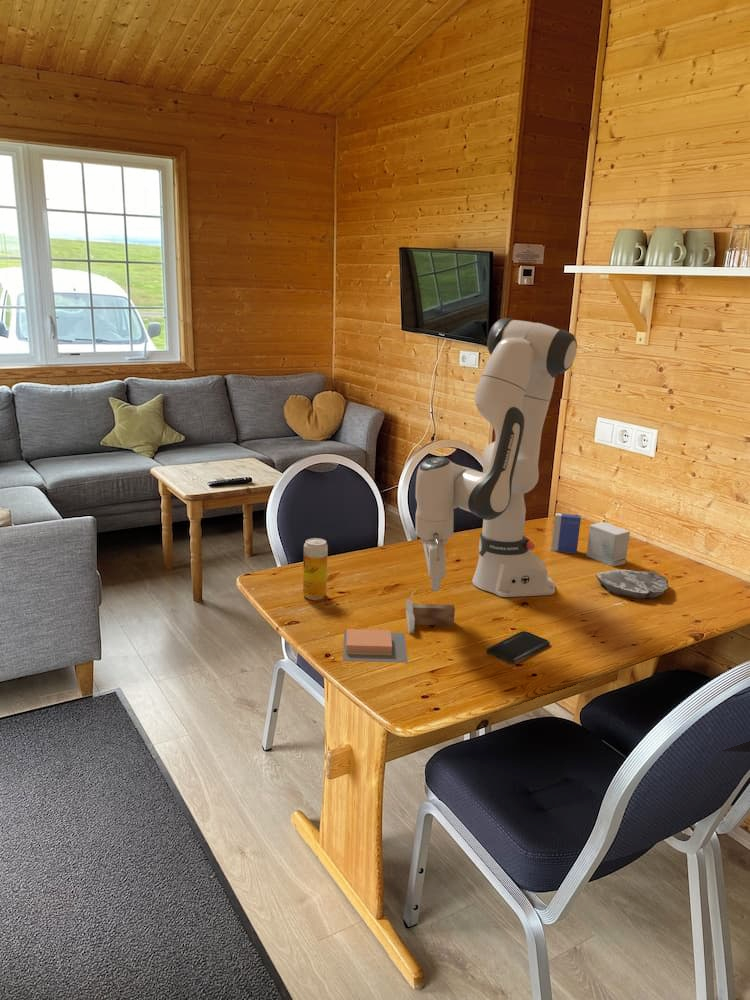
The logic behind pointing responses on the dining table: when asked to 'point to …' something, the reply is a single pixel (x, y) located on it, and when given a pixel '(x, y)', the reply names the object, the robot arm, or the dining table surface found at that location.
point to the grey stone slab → (633, 583)
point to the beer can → (315, 568)
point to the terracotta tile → (369, 642)
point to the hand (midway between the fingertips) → (433, 581)
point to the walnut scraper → (429, 614)
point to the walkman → (566, 533)
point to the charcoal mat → (397, 655)
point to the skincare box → (608, 544)
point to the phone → (518, 647)
